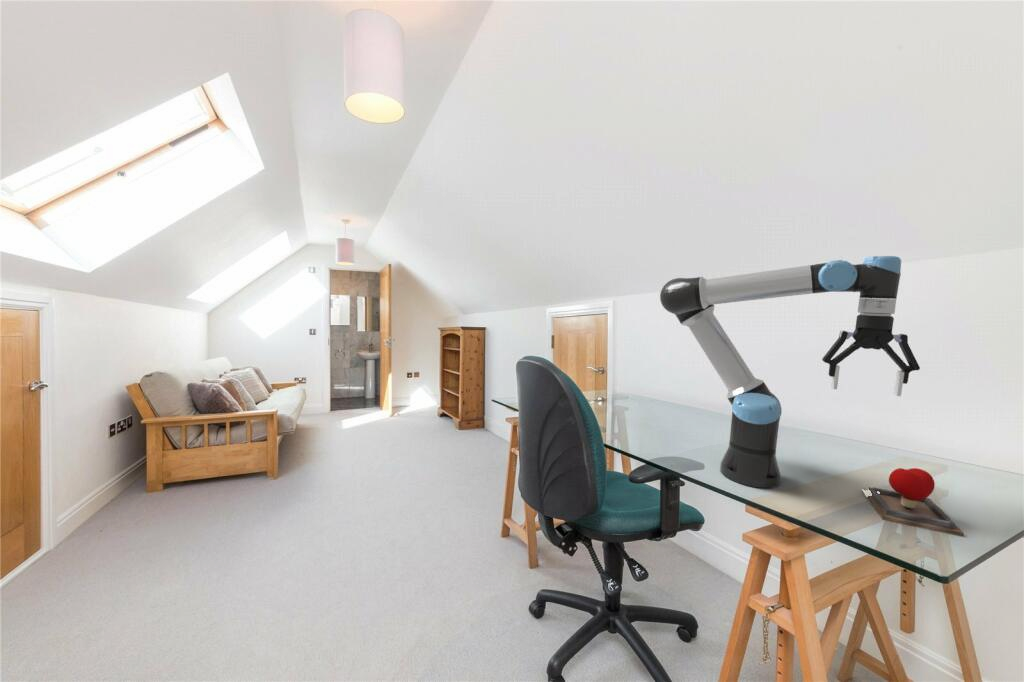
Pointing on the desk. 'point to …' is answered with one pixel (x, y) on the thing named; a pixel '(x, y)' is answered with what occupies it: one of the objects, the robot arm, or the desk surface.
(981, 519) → the desk surface
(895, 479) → the red heart on stub
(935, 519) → the dark wooden picture frame
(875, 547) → the desk surface
